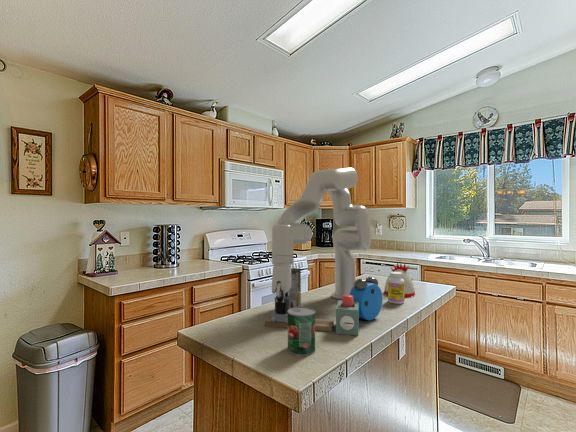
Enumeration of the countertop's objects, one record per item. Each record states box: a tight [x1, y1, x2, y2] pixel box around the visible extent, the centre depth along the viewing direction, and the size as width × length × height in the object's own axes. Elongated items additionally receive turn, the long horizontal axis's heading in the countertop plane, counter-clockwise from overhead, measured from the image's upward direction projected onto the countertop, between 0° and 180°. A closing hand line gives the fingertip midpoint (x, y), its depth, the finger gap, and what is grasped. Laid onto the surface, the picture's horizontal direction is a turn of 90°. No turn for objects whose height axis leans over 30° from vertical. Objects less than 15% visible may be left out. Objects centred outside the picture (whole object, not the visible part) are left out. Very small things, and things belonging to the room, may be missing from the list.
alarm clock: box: [350, 276, 384, 321], centre depth 113 cm, size 13×6×15 cm, turn 130°
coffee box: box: [289, 267, 302, 308], centre depth 124 cm, size 9×6×16 cm
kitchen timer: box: [383, 262, 416, 298], centre depth 149 cm, size 14×14×15 cm
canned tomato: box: [287, 306, 316, 357], centre depth 87 cm, size 8×8×11 cm
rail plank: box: [264, 315, 335, 333], centre depth 107 cm, size 7×23×2 cm, turn 76°
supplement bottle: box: [387, 271, 405, 305], centre depth 134 cm, size 7×7×13 cm
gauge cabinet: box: [335, 299, 360, 336], centre depth 102 cm, size 10×7×8 cm, turn 166°
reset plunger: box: [341, 295, 353, 307], centre depth 103 cm, size 4×4×5 cm
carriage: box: [269, 296, 291, 323], centre depth 108 cm, size 8×7×7 cm
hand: (282, 311), depth 108 cm, fingers closed on carriage, 4 cm apart
